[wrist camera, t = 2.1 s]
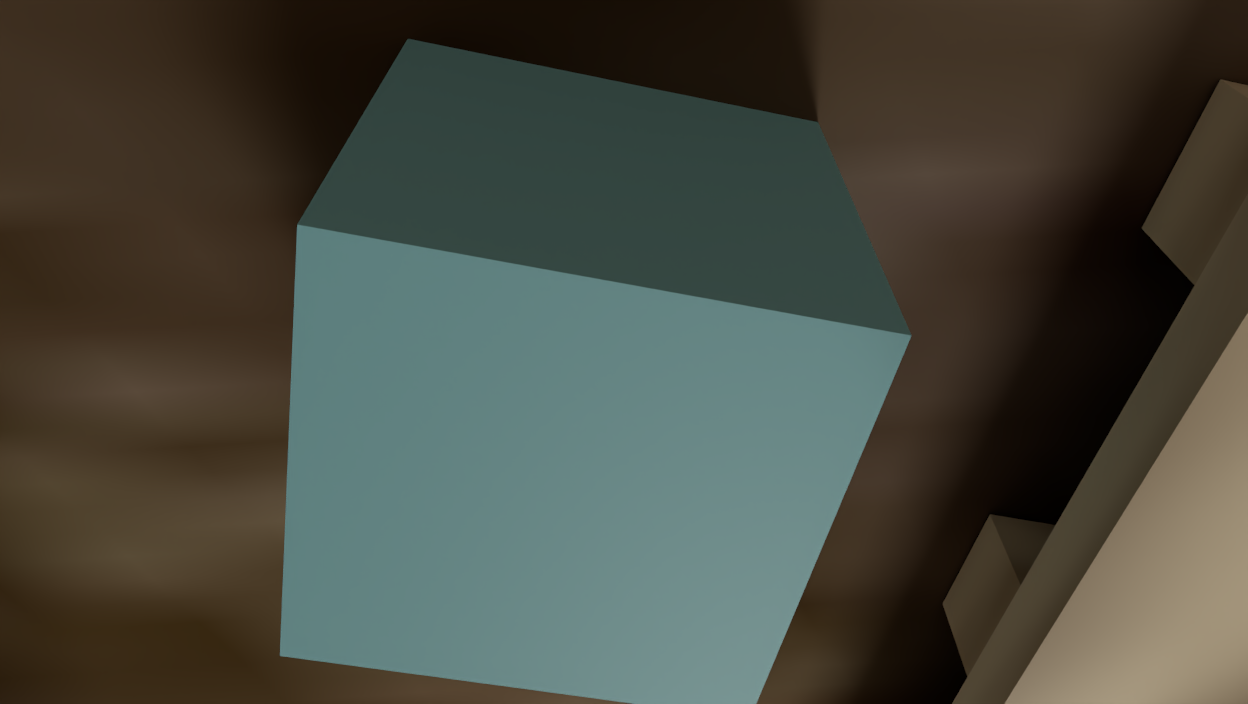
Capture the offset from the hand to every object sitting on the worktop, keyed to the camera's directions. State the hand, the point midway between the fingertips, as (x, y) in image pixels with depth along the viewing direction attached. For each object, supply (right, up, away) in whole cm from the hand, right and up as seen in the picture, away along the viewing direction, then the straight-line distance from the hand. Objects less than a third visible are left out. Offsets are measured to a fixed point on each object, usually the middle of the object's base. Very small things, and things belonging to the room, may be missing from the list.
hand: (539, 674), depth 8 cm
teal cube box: (0, +4, +6) cm, 7 cm away
